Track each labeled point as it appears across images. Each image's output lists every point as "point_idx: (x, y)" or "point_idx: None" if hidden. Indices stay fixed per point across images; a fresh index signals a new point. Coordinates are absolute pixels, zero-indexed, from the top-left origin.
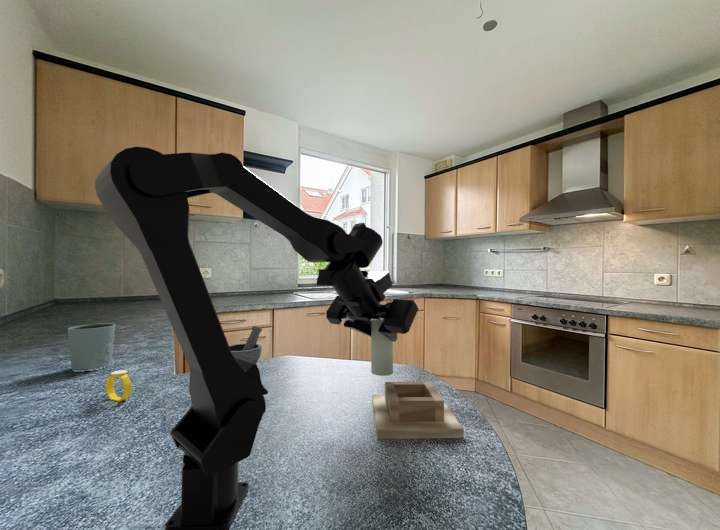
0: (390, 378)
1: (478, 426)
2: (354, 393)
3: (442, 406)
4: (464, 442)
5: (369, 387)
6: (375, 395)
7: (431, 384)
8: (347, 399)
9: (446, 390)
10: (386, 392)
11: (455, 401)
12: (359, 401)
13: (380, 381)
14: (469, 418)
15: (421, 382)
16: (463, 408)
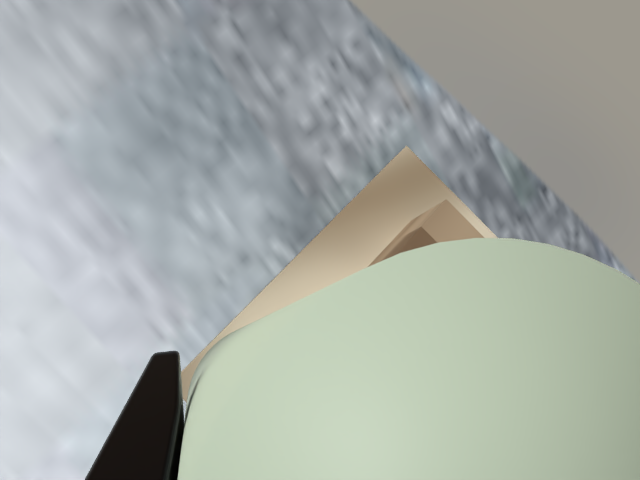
0: (25, 41)
1: (592, 252)
2: (6, 369)
3: None
4: None
5: (17, 237)
6: (188, 378)
7: (474, 232)
8: (35, 461)
9: (351, 20)
10: None
11: (438, 108)
12: (109, 427)
13: (7, 118)
14: (545, 216)
15: (424, 242)
16: (491, 150)
